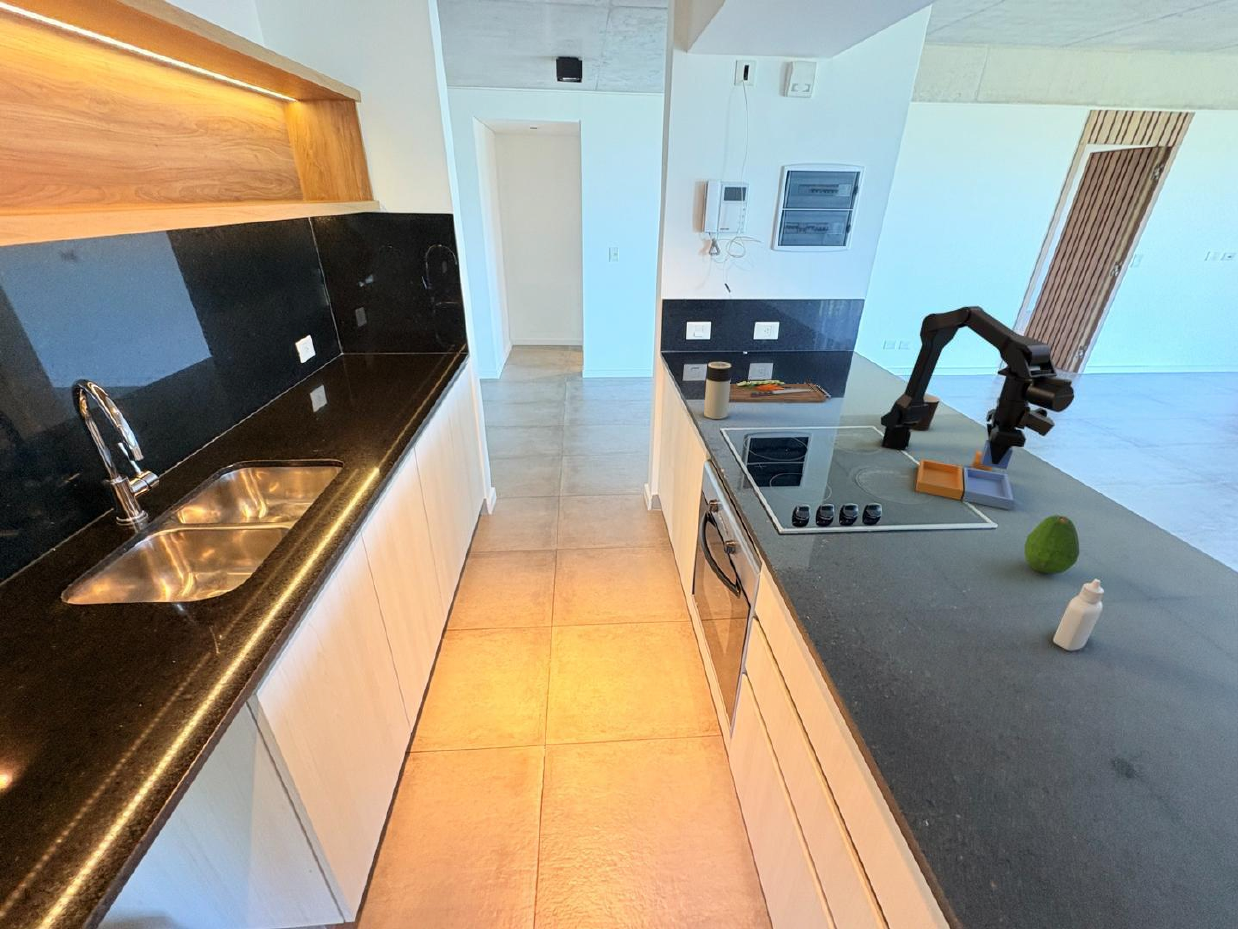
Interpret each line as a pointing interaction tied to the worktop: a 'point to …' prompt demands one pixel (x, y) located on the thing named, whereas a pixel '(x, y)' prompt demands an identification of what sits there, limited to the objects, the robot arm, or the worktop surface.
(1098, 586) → the eye dropper bottle
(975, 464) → the orange cylinder
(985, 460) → the blue block
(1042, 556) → the avocado
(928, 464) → the amber tray
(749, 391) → the chopping board
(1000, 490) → the blue tray
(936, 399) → the coffee mug
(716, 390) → the travel mug
